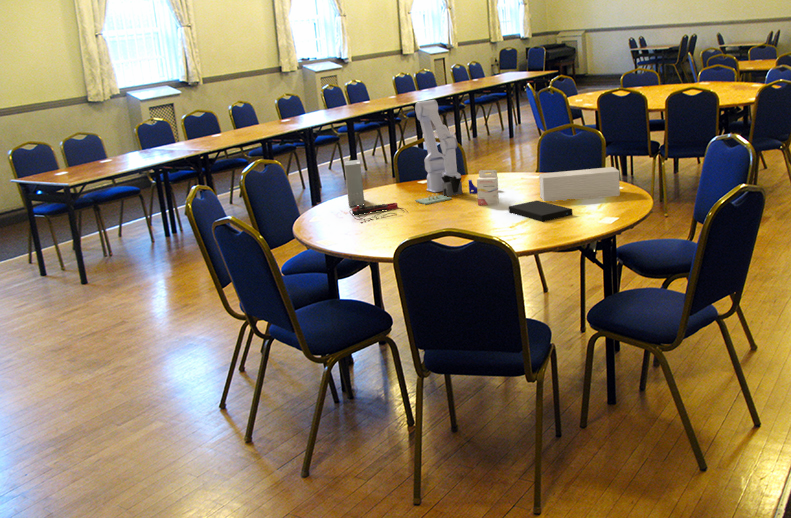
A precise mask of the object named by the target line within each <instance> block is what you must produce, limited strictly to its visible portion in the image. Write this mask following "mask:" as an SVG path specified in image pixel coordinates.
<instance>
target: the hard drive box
mask: <svg viewBox="0 0 791 518" xmlns="http://www.w3.org/2000/svg"><path fill="white" fill-rule="evenodd" d="M343 163H344V174H345V181H346V182H345V183H346V193H347V201H348V207H349V206H352V207H355V206H354V205H363V204H366V203H365V196H364V195H365V194H364V185H363V176H362V168H361V167H362V166H361V161H360V159H355V160H352V159H351V160H347V161H343Z"/></svg>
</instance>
